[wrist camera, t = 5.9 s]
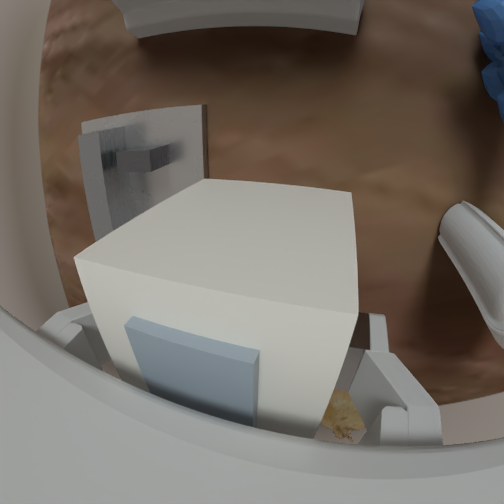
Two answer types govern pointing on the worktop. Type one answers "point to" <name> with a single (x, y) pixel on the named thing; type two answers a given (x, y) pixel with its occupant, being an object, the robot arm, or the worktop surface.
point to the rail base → (140, 161)
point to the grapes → (492, 47)
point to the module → (231, 300)
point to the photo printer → (477, 260)
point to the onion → (342, 415)
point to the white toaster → (238, 14)
